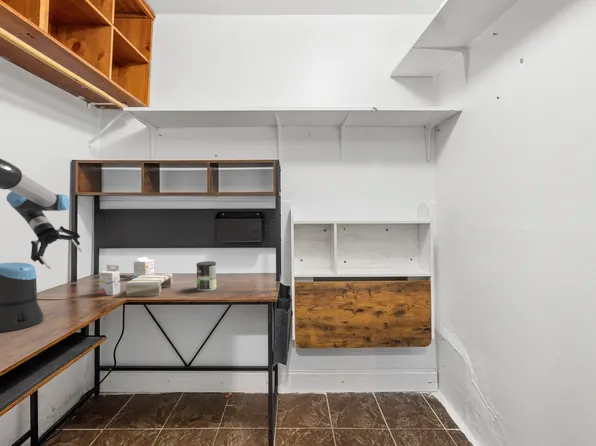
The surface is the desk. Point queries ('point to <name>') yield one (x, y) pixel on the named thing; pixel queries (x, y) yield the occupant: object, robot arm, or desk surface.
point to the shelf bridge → (148, 284)
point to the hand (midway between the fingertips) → (64, 258)
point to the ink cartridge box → (110, 280)
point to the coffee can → (206, 276)
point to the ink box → (143, 267)
